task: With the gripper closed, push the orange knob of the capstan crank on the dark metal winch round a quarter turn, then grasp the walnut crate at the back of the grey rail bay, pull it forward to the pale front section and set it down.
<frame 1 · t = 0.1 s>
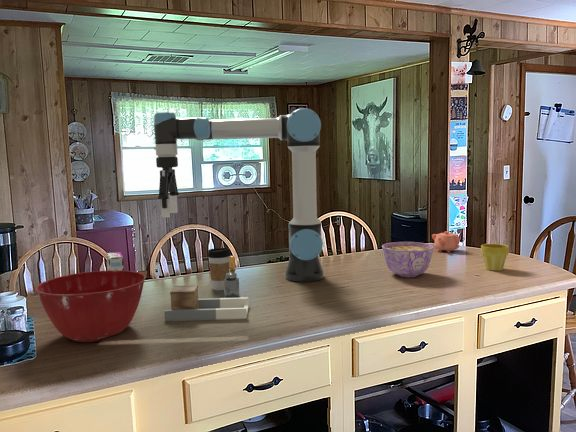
hand: (170, 215, 184), 28 cm above the counter, tool pointing down, fingers open, 13 cm apart
candy bar box: (117, 302, 174), on the counter
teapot: (444, 251, 247), on the counter
coffee cup: (220, 288, 188), on the counter
crank: (231, 267, 171), point 11 cm above the counter, hinge at 0.0°
bowl of food: (407, 275, 201), on the counter
crate: (185, 314, 155), point 1 cm above the counter, touching bay
plant pot: (494, 269, 207), on the counter
bay: (208, 316, 155), on the counter
winch: (232, 302, 169), on the counter
mixing bowl: (96, 334, 143), on the counter
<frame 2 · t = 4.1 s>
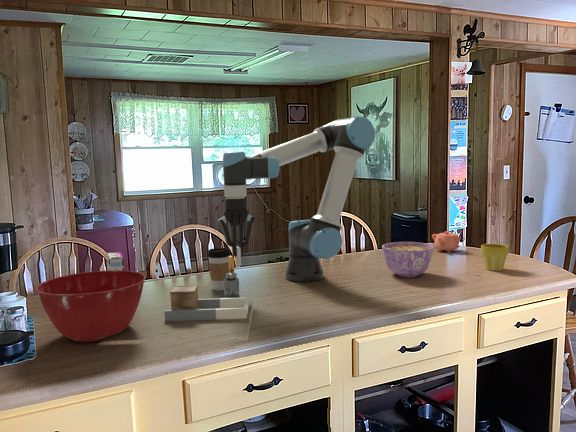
hand: (238, 265, 175), 11 cm above the counter, tool pointing down, fingers closed
crank: (231, 267, 171), point 11 cm above the counter, hinge at 3.3°, touching gripper
everything else where it was.
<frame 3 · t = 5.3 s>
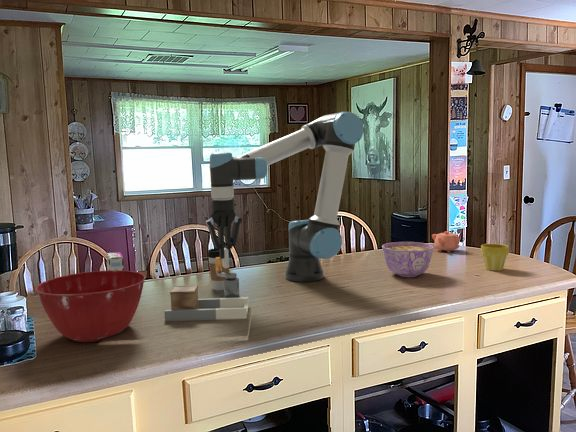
hand: (225, 267, 173), 11 cm above the counter, tool pointing down, fingers closed
crank: (225, 268, 170), point 11 cm above the counter, hinge at 48.8°, touching gripper
everything else where it was.
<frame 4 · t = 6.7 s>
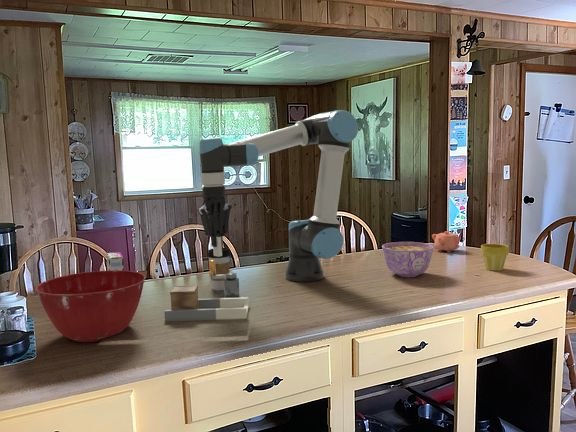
hand: (217, 255, 170), 16 cm above the counter, tool pointing down, fingers closed
crank: (223, 269, 168), point 11 cm above the counter, hinge at 91.5°
everything else where it was.
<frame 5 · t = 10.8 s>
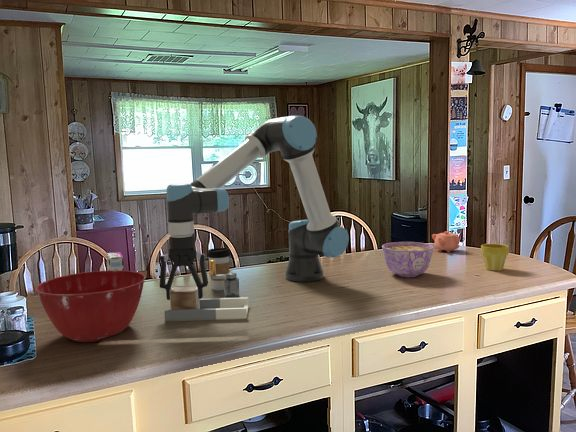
hand: (185, 309, 155), 3 cm above the counter, tool pointing down, fingers closed on crate, 7 cm apart
crate: (185, 314, 155), point 1 cm above the counter, touching bay, gripper
everything else where it was.
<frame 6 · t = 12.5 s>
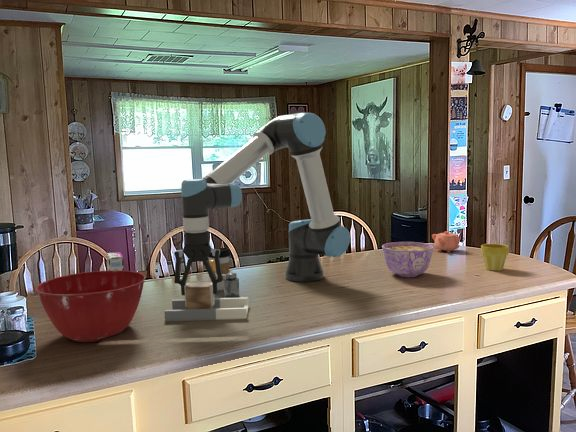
hand: (200, 304, 155), 4 cm above the counter, tool pointing down, fingers closed on crate, 7 cm apart
crate: (200, 309, 155), point 2 cm above the counter, touching gripper
everything else where it was.
when the fingers open (3 cm above the counter, at t = 14.5 s): crate stays where it is, resting on bay.
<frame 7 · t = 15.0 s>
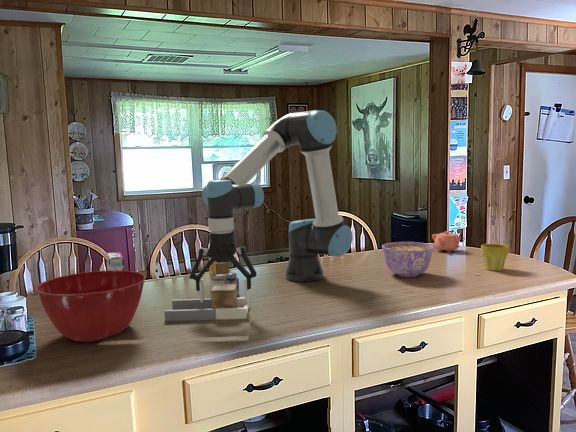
hand: (224, 300, 155), 5 cm above the counter, tool pointing down, fingers open, 13 cm apart
crate: (225, 312, 155), point 1 cm above the counter, touching bay
everything else where it was.
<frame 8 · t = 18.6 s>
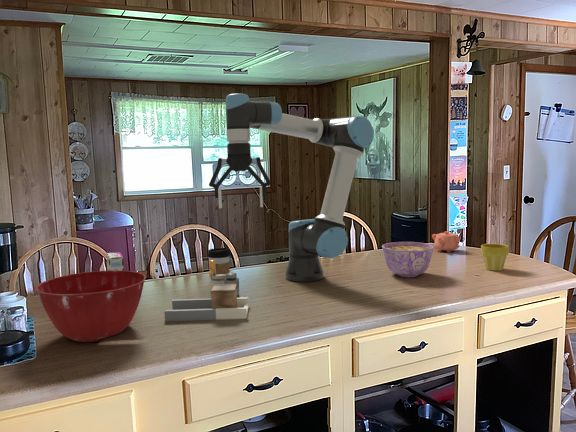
hand: (241, 207, 168), 32 cm above the counter, tool pointing down, fingers open, 13 cm apart
nothing on the counter moved.
at the end: crate inside the target area (0.4 cm from its centre), point 1.0 cm above the counter; crank at +92° (first picture: +0°); crate tilted 0° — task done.
